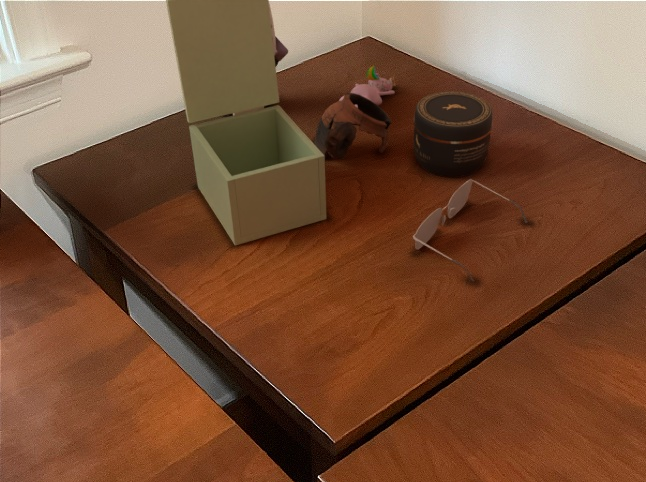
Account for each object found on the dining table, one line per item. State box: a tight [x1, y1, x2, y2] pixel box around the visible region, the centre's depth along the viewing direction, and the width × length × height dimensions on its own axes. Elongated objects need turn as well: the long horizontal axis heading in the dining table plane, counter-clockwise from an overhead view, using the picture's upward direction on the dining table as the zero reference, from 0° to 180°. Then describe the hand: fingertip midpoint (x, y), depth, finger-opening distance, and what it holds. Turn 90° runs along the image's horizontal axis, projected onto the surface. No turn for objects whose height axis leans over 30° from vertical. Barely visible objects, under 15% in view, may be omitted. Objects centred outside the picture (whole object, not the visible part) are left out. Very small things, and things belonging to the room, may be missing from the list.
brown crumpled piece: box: [313, 92, 392, 160], centre depth 108 cm, size 12×10×8 cm
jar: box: [412, 90, 494, 178], centre depth 106 cm, size 10×10×8 cm
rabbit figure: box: [338, 65, 396, 108], centre depth 118 cm, size 6×6×15 cm
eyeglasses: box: [412, 178, 528, 282], centre depth 93 cm, size 14×8×4 cm, turn 145°
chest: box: [188, 104, 327, 246], centre depth 98 cm, size 14×12×9 cm
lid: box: [165, 0, 280, 124], centre depth 97 cm, size 14×12×5 cm
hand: (243, 105), depth 119 cm, fingers closed on block, 4 cm apart
